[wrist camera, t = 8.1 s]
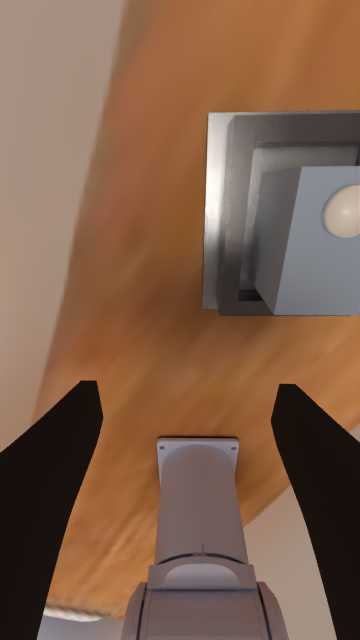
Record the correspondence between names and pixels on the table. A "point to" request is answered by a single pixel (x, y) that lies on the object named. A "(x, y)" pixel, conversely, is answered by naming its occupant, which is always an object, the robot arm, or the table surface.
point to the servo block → (308, 241)
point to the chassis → (258, 188)
